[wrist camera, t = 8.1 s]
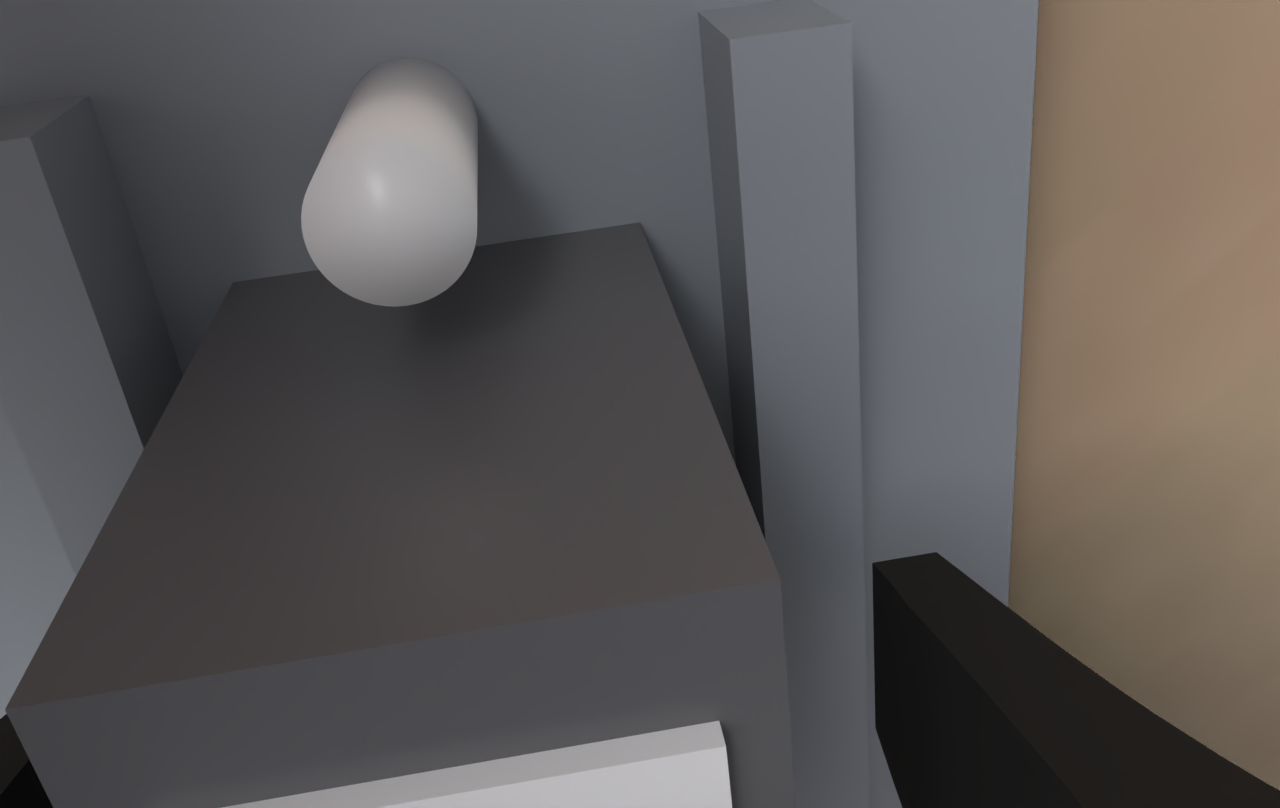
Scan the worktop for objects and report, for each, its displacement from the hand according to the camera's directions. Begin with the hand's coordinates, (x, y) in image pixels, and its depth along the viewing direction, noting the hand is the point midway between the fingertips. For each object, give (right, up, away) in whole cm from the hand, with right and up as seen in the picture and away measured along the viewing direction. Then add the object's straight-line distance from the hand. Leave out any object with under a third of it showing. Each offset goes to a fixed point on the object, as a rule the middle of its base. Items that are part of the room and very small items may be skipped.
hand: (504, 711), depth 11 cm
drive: (0, +1, +2) cm, 3 cm away
